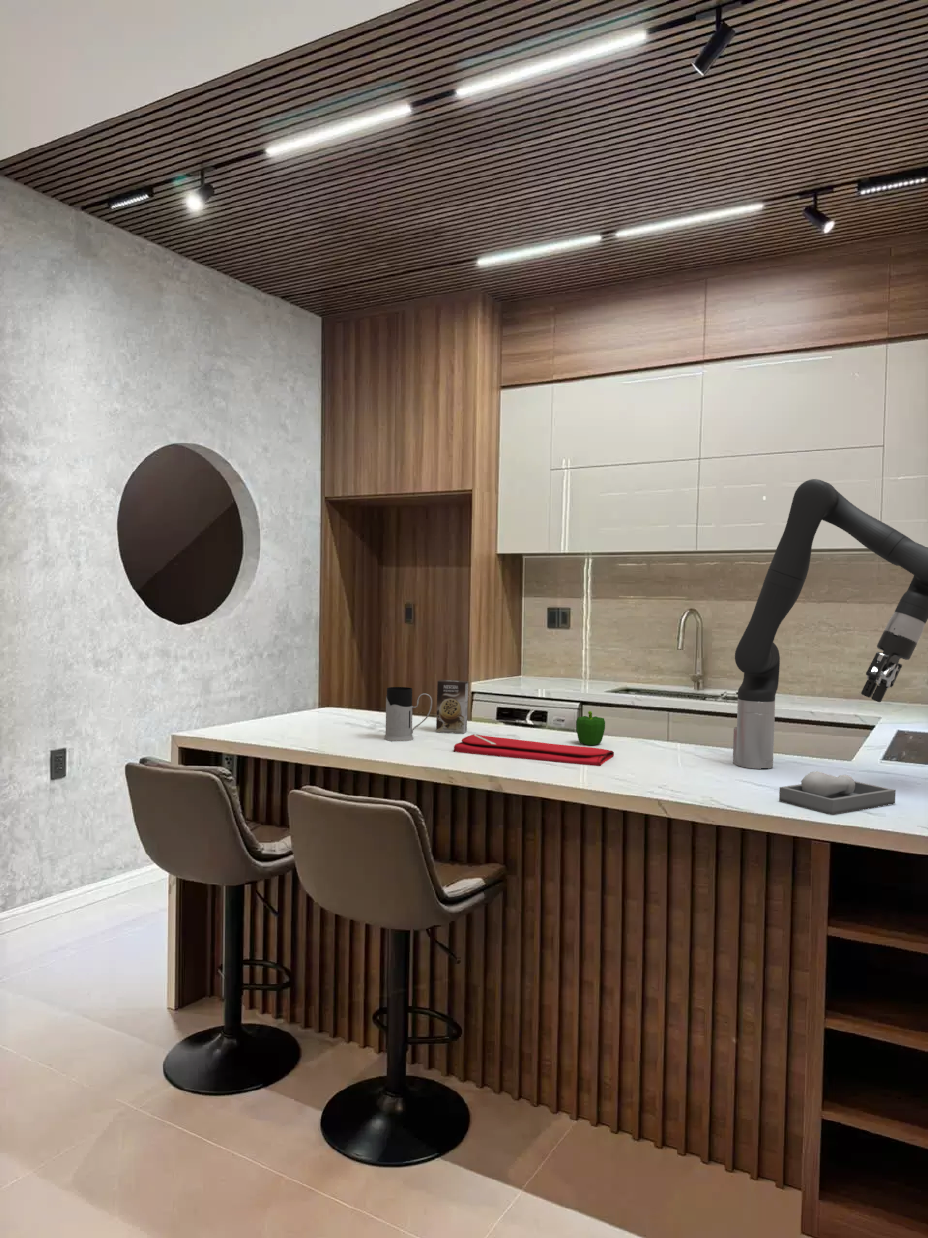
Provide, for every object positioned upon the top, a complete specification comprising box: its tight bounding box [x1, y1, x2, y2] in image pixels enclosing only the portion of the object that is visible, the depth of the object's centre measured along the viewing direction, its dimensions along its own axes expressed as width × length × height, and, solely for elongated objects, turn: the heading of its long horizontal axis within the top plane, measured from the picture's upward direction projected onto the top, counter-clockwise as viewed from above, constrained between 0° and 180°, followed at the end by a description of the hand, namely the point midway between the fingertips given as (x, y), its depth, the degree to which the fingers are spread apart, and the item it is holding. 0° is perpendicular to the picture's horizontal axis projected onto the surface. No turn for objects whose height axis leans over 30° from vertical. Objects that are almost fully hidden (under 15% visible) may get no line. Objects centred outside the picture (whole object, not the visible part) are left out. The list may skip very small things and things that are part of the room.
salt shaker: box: [800, 770, 855, 797], centre depth 187 cm, size 6×6×13 cm
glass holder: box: [383, 686, 433, 742], centre depth 253 cm, size 9×14×15 cm, turn 82°
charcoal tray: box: [778, 780, 896, 816], centre depth 184 cm, size 13×21×3 cm, turn 121°
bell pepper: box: [575, 710, 606, 746], centre depth 252 cm, size 8×8×10 cm
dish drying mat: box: [453, 734, 615, 767], centre depth 234 cm, size 16×41×4 cm, turn 67°
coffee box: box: [435, 679, 469, 734], centre depth 269 cm, size 9×6×16 cm
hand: (870, 698), depth 201 cm, fingers open, 8 cm apart
